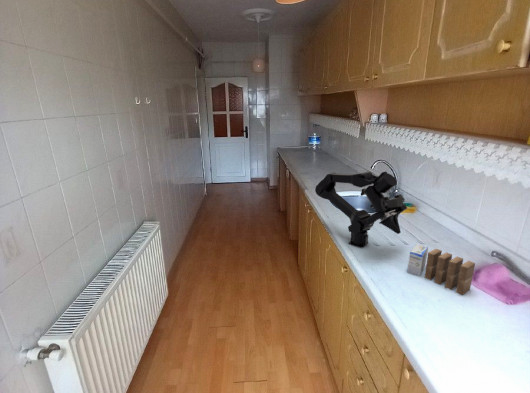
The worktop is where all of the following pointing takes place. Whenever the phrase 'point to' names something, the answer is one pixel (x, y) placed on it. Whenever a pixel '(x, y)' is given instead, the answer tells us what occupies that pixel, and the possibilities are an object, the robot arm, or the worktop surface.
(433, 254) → the walnut domino
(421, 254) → the medicine box
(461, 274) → the walnut domino
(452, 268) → the walnut domino
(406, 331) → the worktop surface
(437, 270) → the walnut domino
